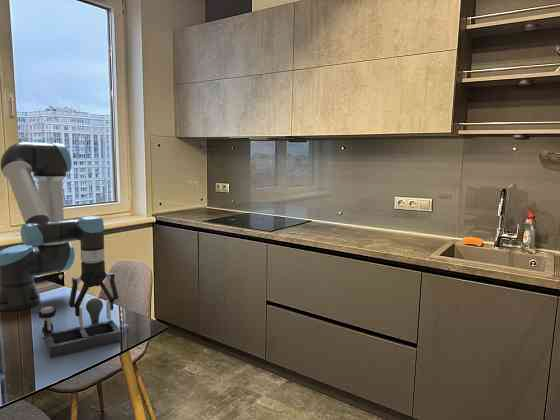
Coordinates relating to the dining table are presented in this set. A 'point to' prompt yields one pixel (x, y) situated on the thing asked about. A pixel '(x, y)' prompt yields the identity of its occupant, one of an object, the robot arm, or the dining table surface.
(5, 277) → the robot arm
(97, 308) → the light bulb
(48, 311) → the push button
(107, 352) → the dining table surface
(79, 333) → the rectangular frame
